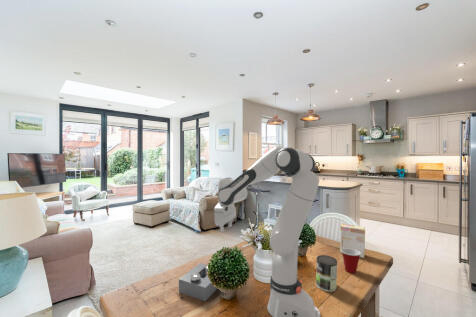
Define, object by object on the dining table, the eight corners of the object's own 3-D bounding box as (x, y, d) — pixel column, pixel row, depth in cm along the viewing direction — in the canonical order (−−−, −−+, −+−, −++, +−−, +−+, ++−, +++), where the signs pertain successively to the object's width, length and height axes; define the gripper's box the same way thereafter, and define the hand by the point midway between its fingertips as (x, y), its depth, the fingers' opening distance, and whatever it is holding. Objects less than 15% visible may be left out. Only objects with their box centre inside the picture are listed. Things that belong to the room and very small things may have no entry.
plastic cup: (351, 265, 139) (352, 246, 139) (364, 274, 128) (365, 254, 128) (336, 266, 137) (336, 247, 137) (348, 276, 126) (349, 255, 126)
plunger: (202, 287, 110) (202, 274, 110) (196, 292, 106) (196, 279, 106) (194, 284, 112) (194, 272, 112) (188, 289, 108) (188, 276, 108)
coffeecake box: (364, 254, 154) (365, 226, 154) (364, 258, 148) (364, 229, 148) (341, 249, 162) (341, 223, 162) (339, 253, 156) (340, 225, 156)
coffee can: (320, 291, 112) (320, 264, 111) (313, 280, 122) (313, 254, 122) (340, 291, 112) (341, 264, 112) (331, 280, 122) (332, 255, 122)
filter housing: (199, 274, 126) (200, 263, 126) (223, 281, 119) (224, 269, 119) (178, 292, 110) (178, 279, 110) (205, 301, 103) (205, 287, 103)
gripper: (229, 201, 139) (229, 223, 139) (212, 208, 120) (212, 234, 121) (238, 202, 136) (238, 224, 137) (222, 209, 118) (222, 235, 118)
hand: (226, 229), depth 128 cm, fingers open, 8 cm apart
